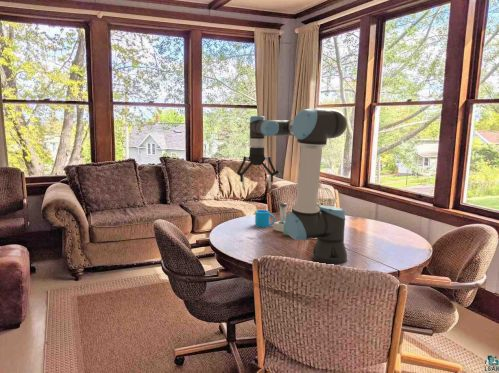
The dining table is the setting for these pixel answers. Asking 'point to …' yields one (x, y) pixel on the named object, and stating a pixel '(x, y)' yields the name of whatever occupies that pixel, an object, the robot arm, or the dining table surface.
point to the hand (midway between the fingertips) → (256, 188)
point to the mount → (278, 226)
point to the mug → (263, 218)
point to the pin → (282, 212)
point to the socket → (285, 230)
